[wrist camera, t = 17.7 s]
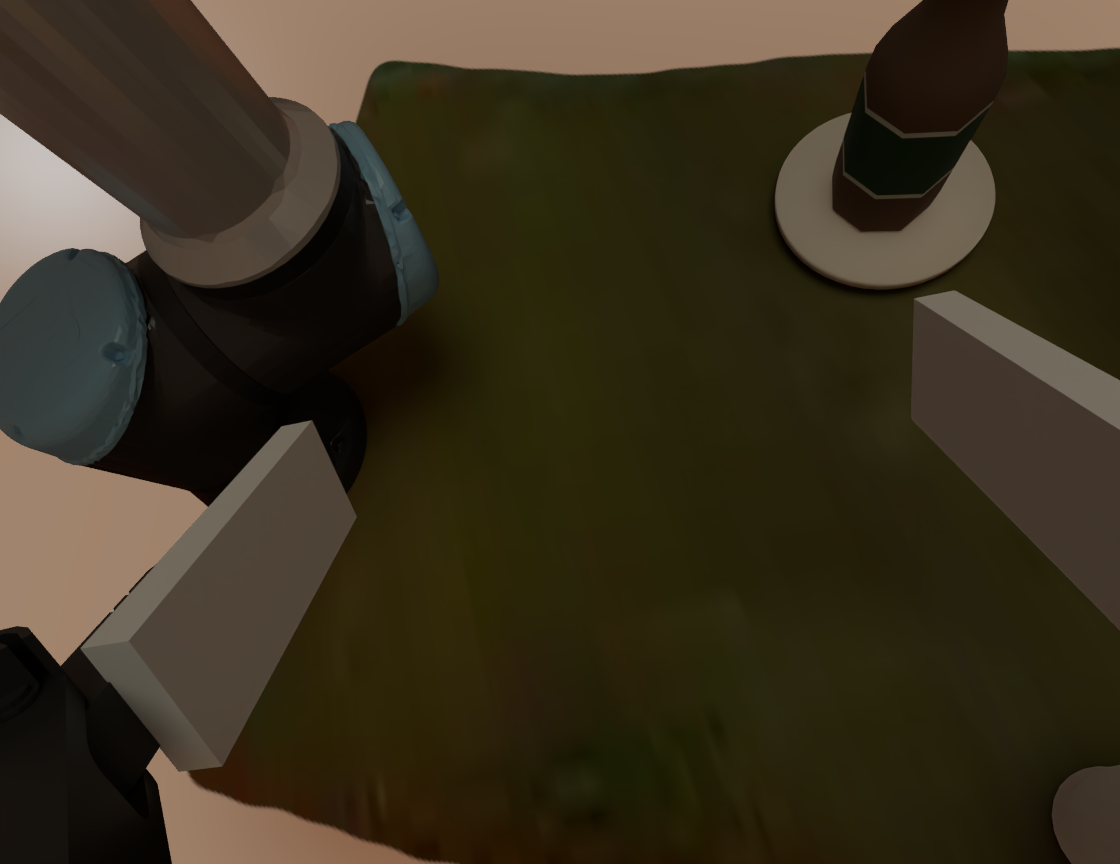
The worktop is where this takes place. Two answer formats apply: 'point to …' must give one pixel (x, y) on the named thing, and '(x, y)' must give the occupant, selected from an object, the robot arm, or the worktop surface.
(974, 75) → the beer bottle
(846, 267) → the dish
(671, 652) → the worktop surface
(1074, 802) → the cup
